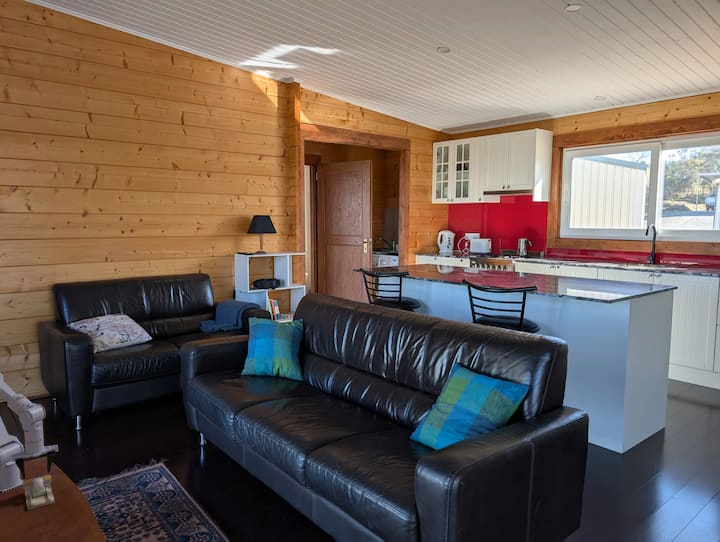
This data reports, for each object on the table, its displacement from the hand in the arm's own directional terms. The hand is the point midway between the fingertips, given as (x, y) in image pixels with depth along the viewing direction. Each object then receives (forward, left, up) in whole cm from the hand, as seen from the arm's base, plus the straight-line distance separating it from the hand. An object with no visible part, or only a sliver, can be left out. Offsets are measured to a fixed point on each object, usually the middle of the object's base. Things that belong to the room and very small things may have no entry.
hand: (36, 474), depth 191 cm
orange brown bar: (0, 0, -4) cm, 4 cm away
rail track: (+5, -2, -7) cm, 8 cm away
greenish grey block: (+4, -2, -5) cm, 7 cm away
